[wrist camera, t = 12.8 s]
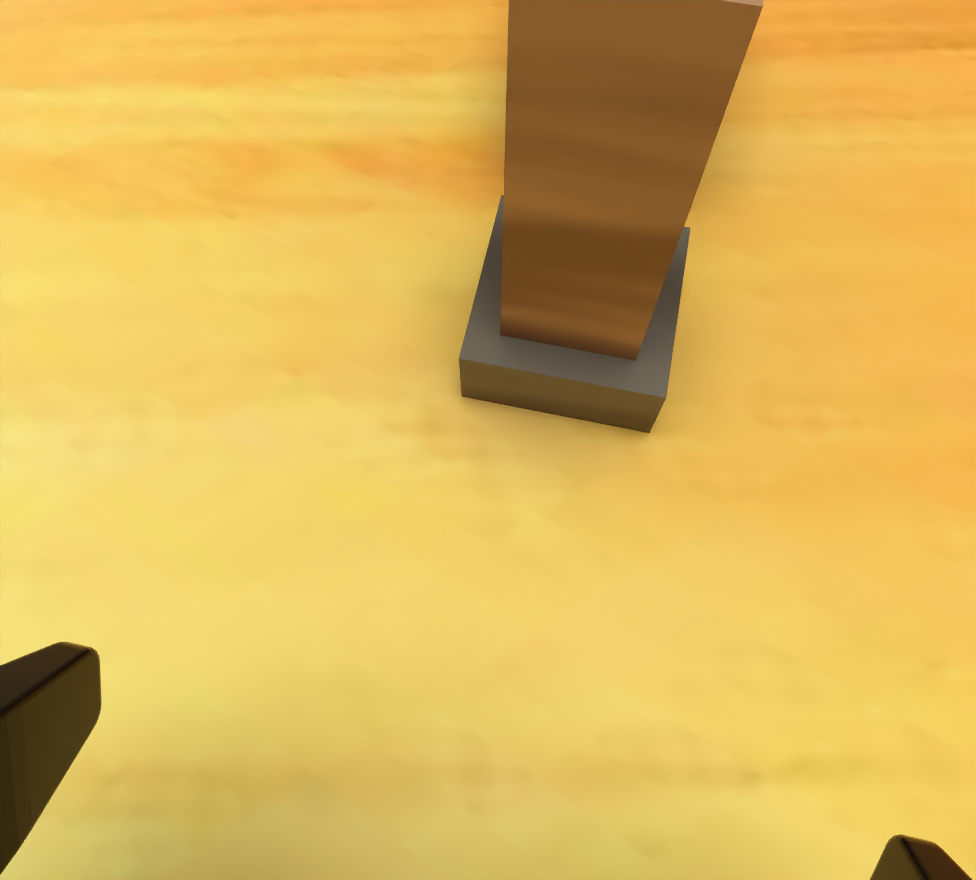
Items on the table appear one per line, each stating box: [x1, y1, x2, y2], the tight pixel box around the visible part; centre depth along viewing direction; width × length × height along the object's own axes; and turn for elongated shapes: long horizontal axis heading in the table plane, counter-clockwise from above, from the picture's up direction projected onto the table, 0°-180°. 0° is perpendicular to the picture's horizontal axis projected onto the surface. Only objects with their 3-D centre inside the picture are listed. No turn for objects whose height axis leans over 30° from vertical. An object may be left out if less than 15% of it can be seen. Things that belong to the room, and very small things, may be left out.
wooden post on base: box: [459, 0, 763, 433], centre depth 20 cm, size 6×6×14 cm
